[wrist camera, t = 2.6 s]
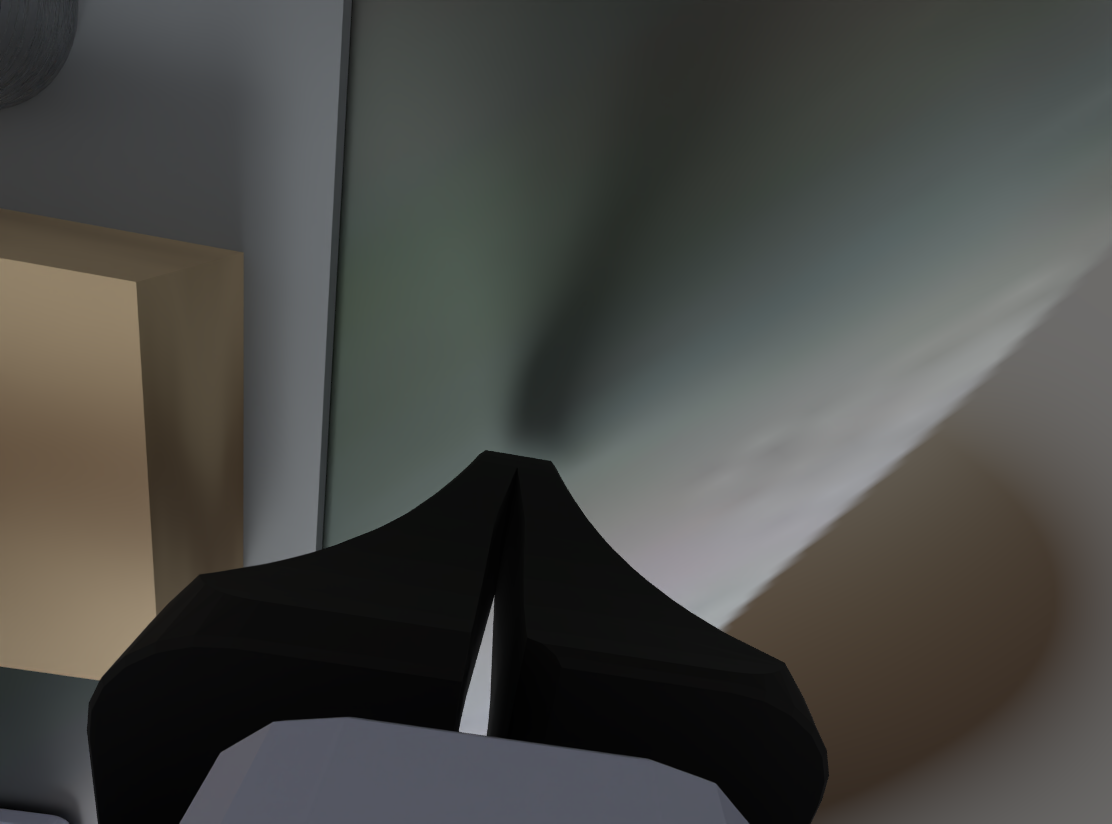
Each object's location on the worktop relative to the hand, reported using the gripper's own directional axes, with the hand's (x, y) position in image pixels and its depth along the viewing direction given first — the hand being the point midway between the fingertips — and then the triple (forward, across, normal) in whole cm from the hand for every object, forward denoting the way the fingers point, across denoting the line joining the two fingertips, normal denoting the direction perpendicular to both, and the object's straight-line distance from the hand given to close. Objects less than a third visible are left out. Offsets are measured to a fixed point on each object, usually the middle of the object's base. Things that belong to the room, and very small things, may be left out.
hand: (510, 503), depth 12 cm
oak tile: (+1, +9, 0) cm, 9 cm away
